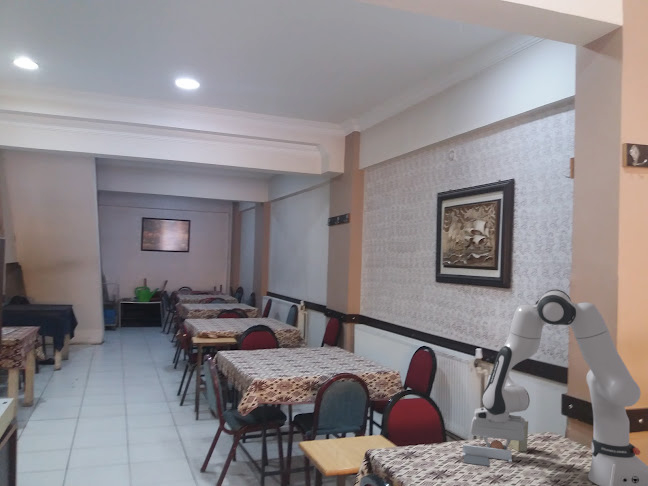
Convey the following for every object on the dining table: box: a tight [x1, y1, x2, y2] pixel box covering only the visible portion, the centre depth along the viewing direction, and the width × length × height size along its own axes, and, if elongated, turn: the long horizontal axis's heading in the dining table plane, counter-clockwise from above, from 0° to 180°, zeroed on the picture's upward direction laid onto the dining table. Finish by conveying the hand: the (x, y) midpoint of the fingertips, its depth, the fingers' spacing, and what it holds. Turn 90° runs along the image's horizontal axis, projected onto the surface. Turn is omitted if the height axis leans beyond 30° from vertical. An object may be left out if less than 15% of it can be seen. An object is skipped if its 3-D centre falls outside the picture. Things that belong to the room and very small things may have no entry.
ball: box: [490, 439, 504, 449], centre depth 205 cm, size 5×5×5 cm
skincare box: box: [508, 417, 529, 452], centre depth 211 cm, size 6×4×12 cm
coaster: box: [463, 454, 490, 467], centre depth 196 cm, size 9×9×1 cm
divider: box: [462, 444, 513, 463], centre depth 200 cm, size 18×5×4 cm, turn 75°
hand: (496, 449), depth 205 cm, fingers closed on ball, 5 cm apart
